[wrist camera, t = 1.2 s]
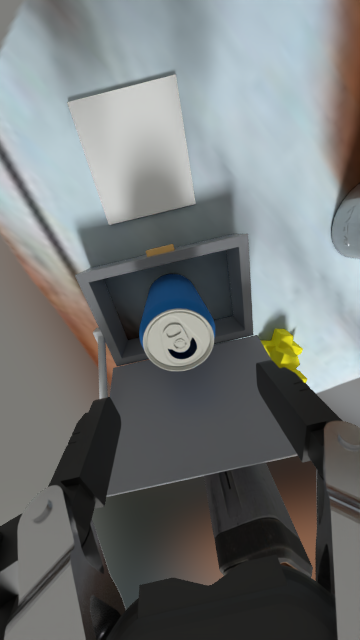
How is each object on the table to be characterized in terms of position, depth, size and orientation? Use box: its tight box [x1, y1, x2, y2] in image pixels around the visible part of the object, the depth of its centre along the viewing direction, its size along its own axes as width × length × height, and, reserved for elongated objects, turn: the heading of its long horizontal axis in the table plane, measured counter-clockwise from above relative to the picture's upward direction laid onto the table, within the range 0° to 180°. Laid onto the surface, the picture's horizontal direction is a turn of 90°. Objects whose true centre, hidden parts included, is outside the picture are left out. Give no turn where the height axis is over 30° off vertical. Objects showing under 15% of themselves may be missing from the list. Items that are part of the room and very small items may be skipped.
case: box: [75, 234, 297, 497], centre depth 19 cm, size 19×17×16 cm
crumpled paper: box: [260, 329, 307, 383], centre depth 27 cm, size 6×8×8 cm
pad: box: [67, 74, 196, 225], centre depth 19 cm, size 10×10×1 cm
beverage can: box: [139, 274, 215, 371], centre depth 20 cm, size 6×6×12 cm
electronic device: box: [204, 462, 313, 578], centre depth 24 cm, size 9×6×20 cm, turn 33°
